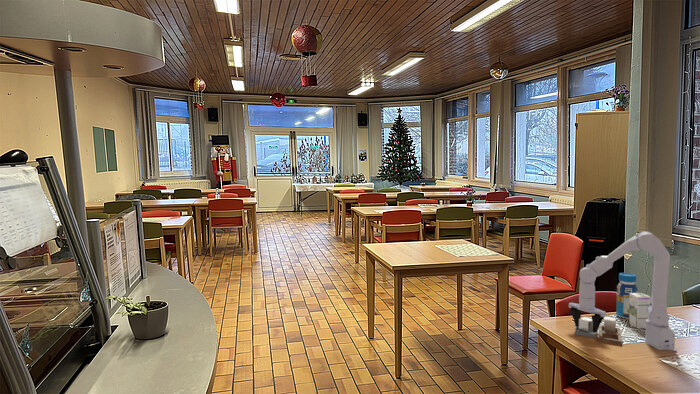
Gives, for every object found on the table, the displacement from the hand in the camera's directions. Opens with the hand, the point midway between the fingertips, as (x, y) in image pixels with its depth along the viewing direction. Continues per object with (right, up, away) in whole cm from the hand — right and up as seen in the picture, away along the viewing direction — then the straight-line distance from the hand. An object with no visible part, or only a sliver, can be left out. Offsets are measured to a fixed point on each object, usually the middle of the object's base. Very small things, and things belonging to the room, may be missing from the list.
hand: (586, 329), depth 178 cm
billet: (+9, -2, 0) cm, 10 cm away
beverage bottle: (+31, -1, +22) cm, 38 cm away
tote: (0, -2, 0) cm, 2 cm away
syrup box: (+27, -2, +8) cm, 29 cm away
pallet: (+7, -3, -4) cm, 9 cm away
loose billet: (0, -2, 0) cm, 2 cm away
